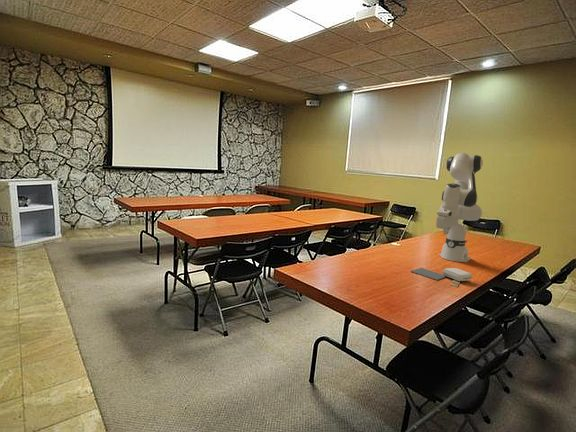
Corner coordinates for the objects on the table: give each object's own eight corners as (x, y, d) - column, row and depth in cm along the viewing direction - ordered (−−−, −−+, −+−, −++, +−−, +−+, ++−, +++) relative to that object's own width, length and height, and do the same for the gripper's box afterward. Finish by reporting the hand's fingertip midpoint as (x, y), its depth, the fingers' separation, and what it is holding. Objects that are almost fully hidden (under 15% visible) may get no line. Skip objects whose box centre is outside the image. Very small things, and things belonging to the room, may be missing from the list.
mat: (421, 268, 199) (421, 267, 199) (447, 276, 187) (447, 275, 187) (410, 271, 192) (410, 270, 192) (436, 280, 179) (437, 279, 179)
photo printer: (455, 266, 190) (475, 273, 179) (454, 273, 191) (473, 281, 180) (442, 268, 186) (461, 275, 175) (442, 275, 187) (460, 282, 176)
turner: (454, 277, 187) (454, 276, 187) (461, 279, 185) (461, 277, 185) (450, 285, 174) (450, 283, 174) (457, 287, 172) (457, 285, 172)
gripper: (452, 209, 200) (448, 230, 203) (435, 211, 187) (432, 234, 190) (462, 211, 195) (459, 233, 198) (446, 213, 183) (442, 237, 185)
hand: (445, 234), depth 194 cm, fingers closed
